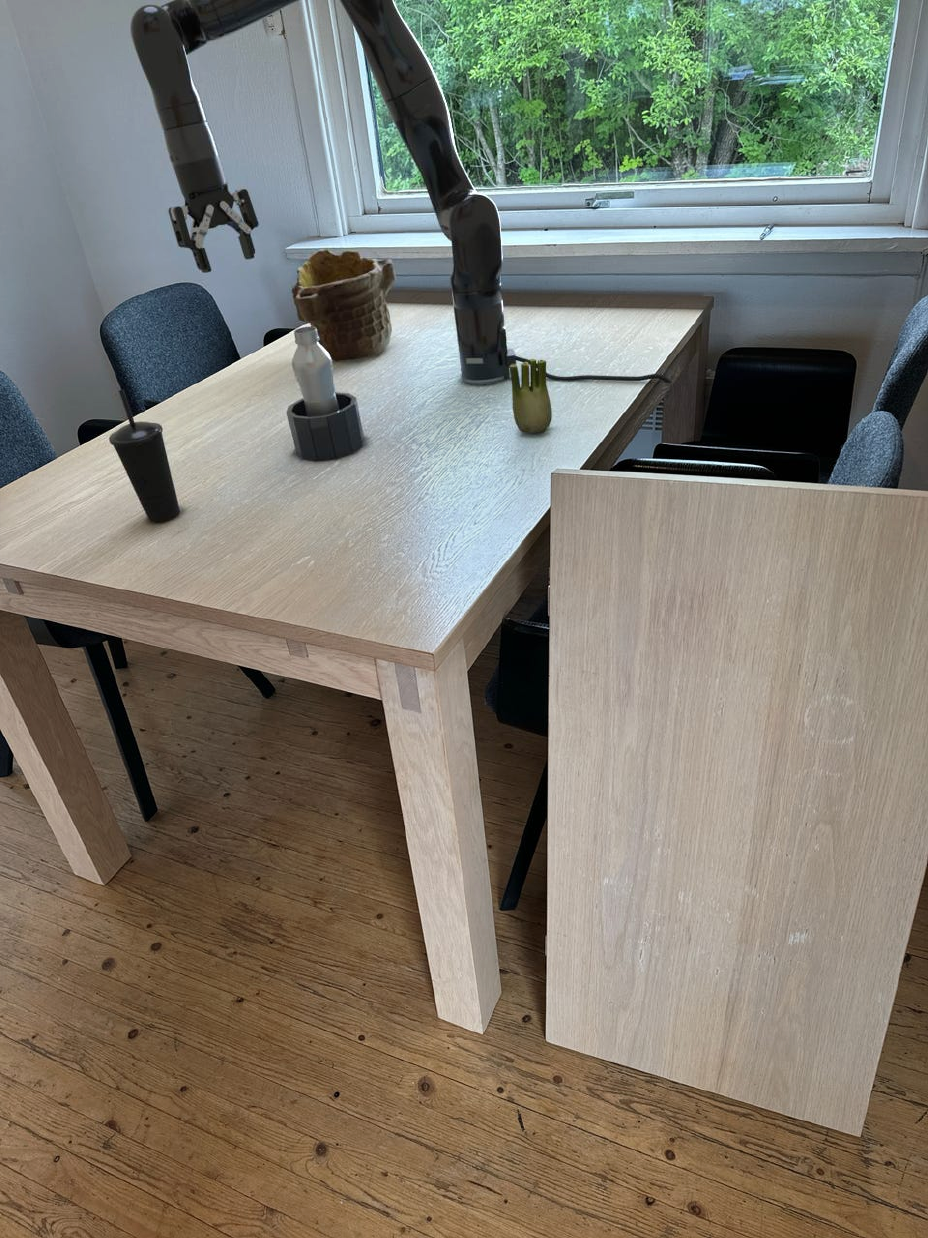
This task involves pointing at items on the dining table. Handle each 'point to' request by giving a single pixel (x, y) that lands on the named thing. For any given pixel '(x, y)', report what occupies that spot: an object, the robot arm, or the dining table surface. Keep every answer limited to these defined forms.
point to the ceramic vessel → (346, 302)
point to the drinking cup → (147, 466)
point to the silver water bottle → (314, 373)
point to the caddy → (326, 430)
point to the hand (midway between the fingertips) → (228, 265)
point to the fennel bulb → (531, 397)
